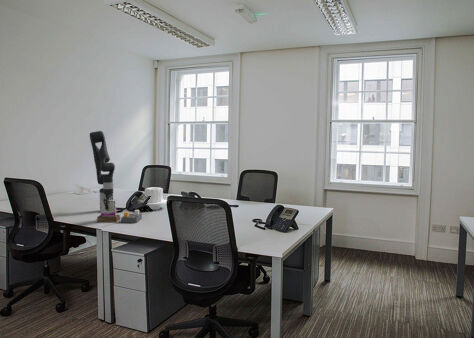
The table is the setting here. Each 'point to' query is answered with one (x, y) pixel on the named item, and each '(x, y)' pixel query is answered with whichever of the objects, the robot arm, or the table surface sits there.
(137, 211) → the breaker
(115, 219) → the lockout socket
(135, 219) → the breaker panel
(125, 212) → the breaker tagged
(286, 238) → the table surface
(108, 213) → the candy bar box
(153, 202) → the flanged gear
